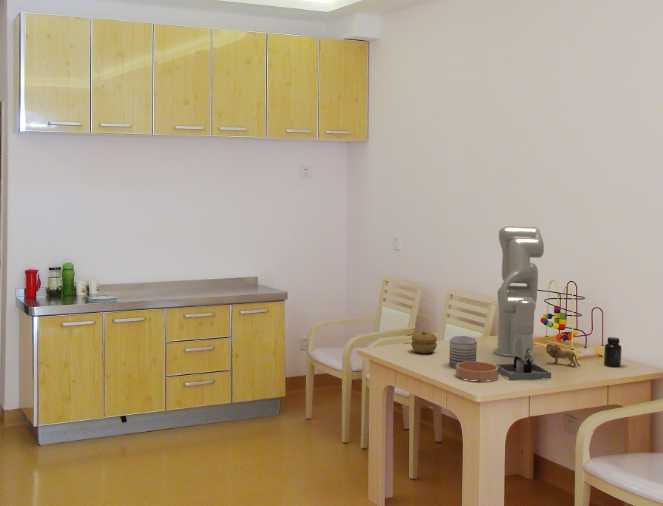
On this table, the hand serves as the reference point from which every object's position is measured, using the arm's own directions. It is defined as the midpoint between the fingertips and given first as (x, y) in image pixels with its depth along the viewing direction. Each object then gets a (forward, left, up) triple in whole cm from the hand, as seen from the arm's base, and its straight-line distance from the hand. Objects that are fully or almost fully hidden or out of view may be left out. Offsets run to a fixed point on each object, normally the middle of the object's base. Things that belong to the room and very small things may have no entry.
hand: (522, 370), depth 307 cm
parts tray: (0, 0, -2) cm, 2 cm away
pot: (-43, -29, -2) cm, 52 cm away
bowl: (+1, -20, -2) cm, 20 cm away
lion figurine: (-13, +24, -2) cm, 27 cm away
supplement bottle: (-10, +46, -2) cm, 47 cm away
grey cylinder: (0, 0, -2) cm, 2 cm away
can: (-16, -20, -2) cm, 26 cm away
